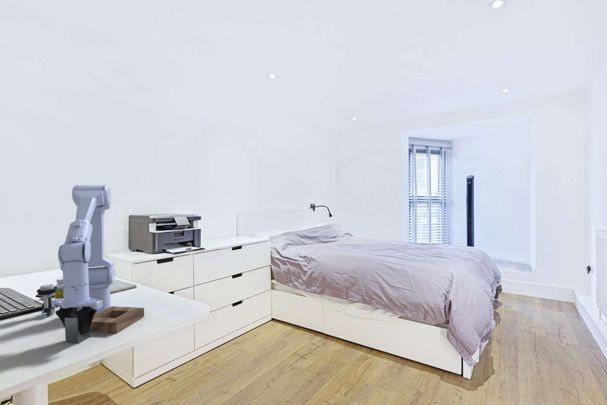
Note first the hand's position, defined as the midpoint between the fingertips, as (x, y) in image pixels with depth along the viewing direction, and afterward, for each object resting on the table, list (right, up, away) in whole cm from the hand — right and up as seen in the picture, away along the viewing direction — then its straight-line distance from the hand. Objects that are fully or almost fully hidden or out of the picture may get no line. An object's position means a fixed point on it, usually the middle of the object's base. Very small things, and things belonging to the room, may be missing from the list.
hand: (78, 332), depth 87 cm
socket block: (+4, -2, +11) cm, 11 cm away
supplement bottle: (-27, -2, +30) cm, 40 cm away
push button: (-24, -2, +18) cm, 30 cm away
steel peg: (0, -2, 0) cm, 2 cm away
